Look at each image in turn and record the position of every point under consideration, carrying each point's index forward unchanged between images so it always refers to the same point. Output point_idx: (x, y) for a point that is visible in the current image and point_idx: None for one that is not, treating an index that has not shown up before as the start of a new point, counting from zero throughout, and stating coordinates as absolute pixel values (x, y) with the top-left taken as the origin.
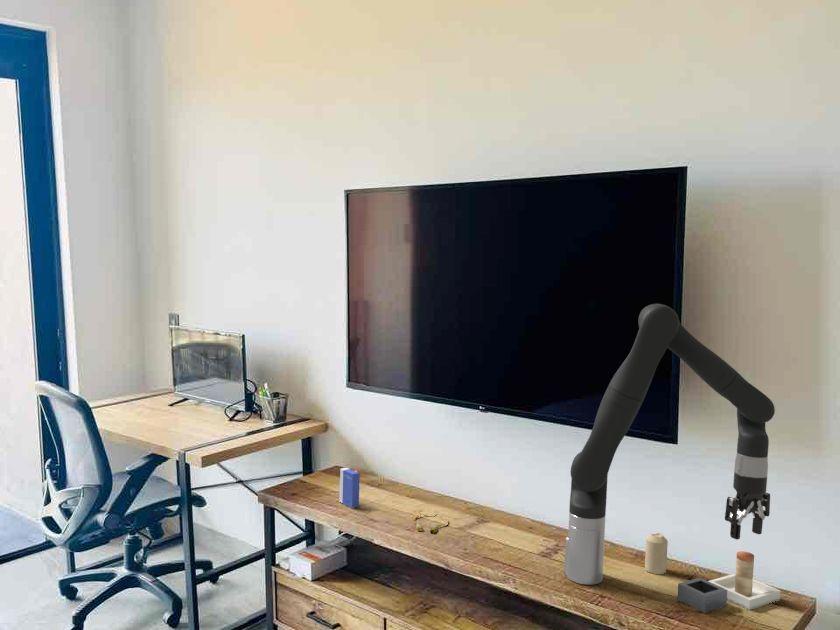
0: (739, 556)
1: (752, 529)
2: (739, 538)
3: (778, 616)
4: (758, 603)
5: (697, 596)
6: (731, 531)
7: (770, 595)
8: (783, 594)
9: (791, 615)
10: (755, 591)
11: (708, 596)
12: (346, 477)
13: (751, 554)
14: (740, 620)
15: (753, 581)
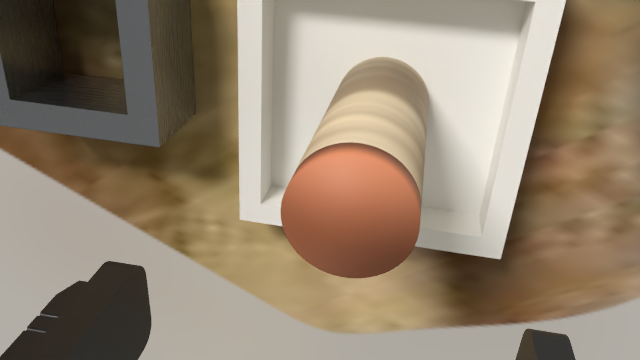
0: (282, 200)
1: (532, 348)
2: (140, 342)
3: (319, 286)
4: None
5: None
6: (37, 330)
7: None
8: (596, 210)
9: (378, 312)
10: (470, 128)
11: (14, 125)
12: None
13: (394, 249)
14: (141, 214)
15: (509, 113)
